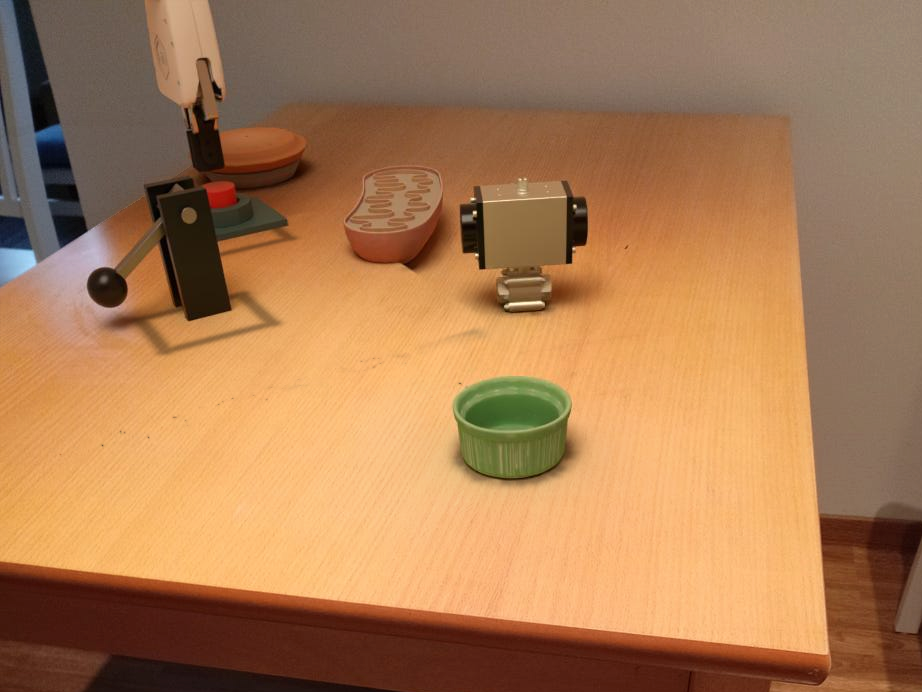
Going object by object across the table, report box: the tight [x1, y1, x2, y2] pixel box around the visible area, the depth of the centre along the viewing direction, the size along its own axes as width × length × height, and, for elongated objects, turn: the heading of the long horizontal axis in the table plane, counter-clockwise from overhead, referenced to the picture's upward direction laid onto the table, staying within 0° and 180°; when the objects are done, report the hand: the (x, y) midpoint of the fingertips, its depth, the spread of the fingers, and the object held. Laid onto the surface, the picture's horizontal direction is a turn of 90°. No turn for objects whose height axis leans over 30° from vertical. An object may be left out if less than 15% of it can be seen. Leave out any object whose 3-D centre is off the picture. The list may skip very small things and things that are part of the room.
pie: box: [188, 126, 308, 190], centre depth 135 cm, size 15×16×5 cm
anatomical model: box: [342, 164, 444, 265], centre depth 114 cm, size 23×10×5 cm, turn 177°
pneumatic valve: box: [459, 176, 589, 313], centre depth 97 cm, size 6×12×12 cm, turn 93°
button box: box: [211, 191, 289, 242], centre depth 118 cm, size 12×10×4 cm
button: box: [200, 181, 238, 209], centre depth 116 cm, size 4×4×2 cm
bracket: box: [143, 175, 233, 322], centre depth 97 cm, size 11×9×13 cm
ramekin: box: [452, 375, 573, 479], centre depth 78 cm, size 9×9×4 cm
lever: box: [86, 184, 184, 309], centre depth 94 cm, size 13×4×4 cm
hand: (209, 168), depth 114 cm, fingers closed
